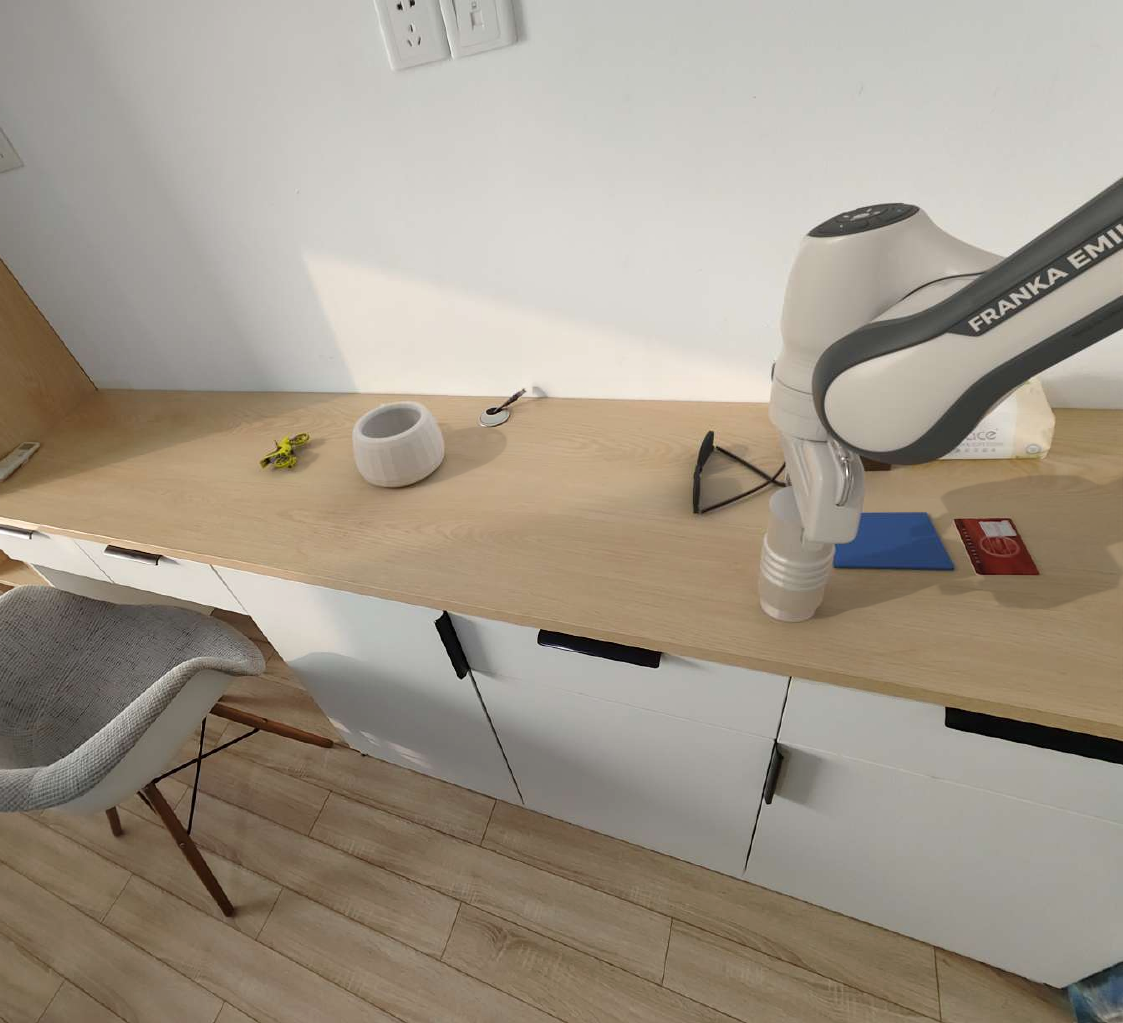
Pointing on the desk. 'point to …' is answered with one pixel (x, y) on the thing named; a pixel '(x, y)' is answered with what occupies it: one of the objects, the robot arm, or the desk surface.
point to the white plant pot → (397, 444)
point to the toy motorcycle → (284, 452)
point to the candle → (790, 564)
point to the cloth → (894, 544)
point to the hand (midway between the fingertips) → (801, 515)
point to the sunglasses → (708, 448)
